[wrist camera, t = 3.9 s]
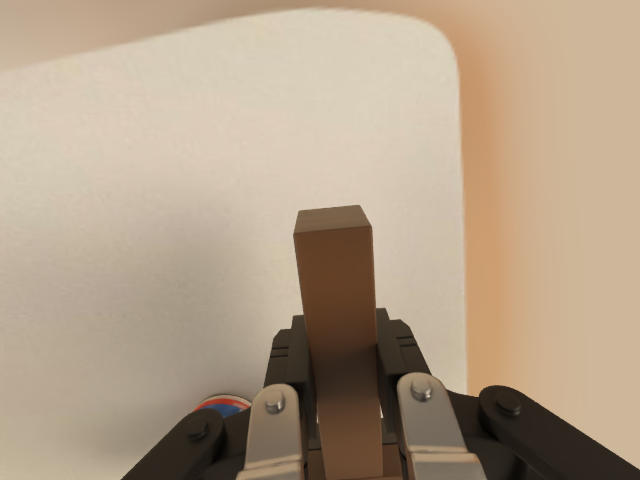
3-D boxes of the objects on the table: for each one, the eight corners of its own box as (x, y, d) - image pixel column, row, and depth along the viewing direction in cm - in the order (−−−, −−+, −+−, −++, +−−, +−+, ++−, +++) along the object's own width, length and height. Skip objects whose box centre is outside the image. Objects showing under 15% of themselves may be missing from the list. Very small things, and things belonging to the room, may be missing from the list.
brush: (399, 515, 17) (414, 582, 14) (315, 521, 17) (314, 589, 14) (393, 201, 11) (414, 221, 9) (265, 213, 11) (251, 237, 9)
